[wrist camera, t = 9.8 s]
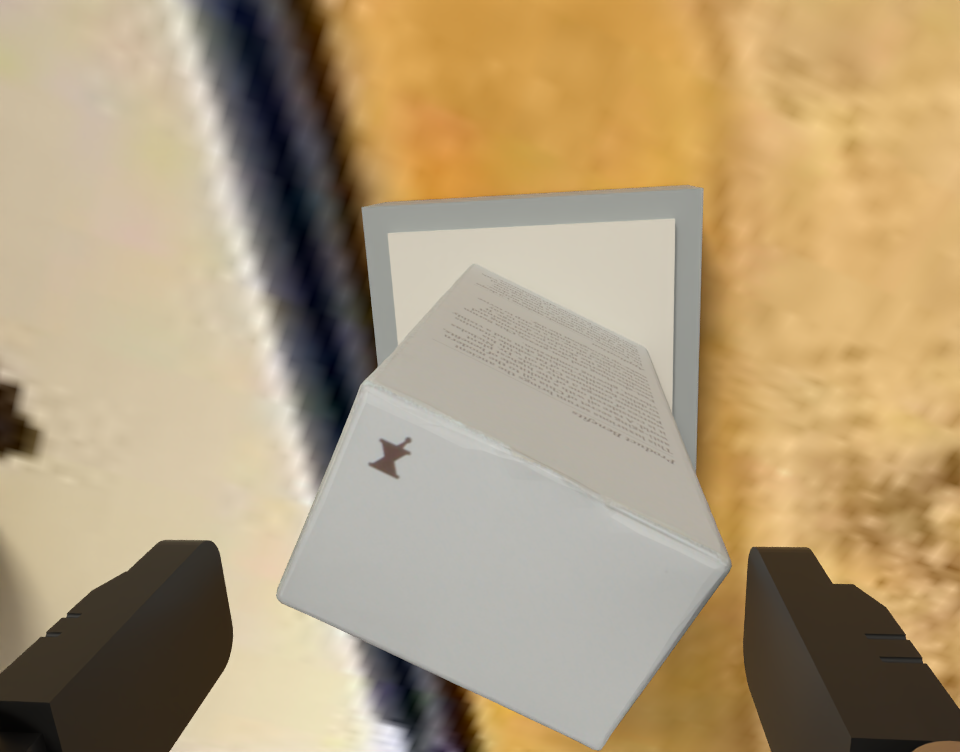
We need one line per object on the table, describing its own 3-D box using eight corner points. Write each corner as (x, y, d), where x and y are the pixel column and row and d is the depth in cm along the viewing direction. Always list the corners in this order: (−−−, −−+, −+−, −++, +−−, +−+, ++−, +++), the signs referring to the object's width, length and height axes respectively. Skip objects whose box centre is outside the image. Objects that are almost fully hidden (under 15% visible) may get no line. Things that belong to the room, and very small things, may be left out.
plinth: (411, 471, 27) (390, 511, 24) (386, 202, 24) (358, 207, 21) (681, 470, 26) (696, 512, 23) (687, 185, 23) (705, 188, 20)
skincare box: (416, 380, 23) (257, 599, 11) (473, 259, 21) (357, 368, 10) (588, 464, 23) (601, 767, 11) (655, 348, 21) (746, 559, 10)
